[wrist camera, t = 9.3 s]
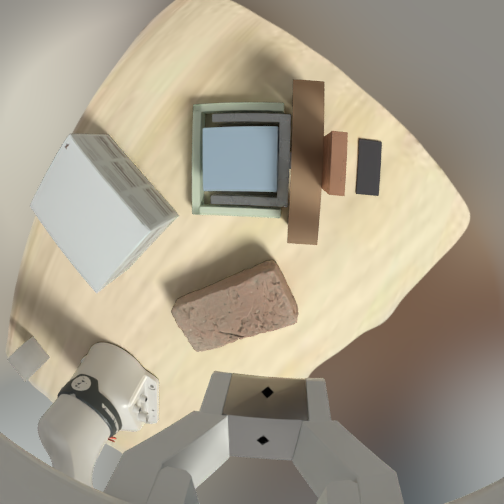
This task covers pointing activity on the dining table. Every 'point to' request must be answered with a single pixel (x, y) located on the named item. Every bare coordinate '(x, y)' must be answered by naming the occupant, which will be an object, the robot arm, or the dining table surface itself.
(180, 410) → the dining table surface
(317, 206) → the tunnel
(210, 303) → the brick
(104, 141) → the supplement box
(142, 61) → the dining table surface
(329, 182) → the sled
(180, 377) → the dining table surface
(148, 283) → the dining table surface
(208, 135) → the block
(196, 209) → the green hollow frame
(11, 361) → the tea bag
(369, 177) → the dark grey flat block
